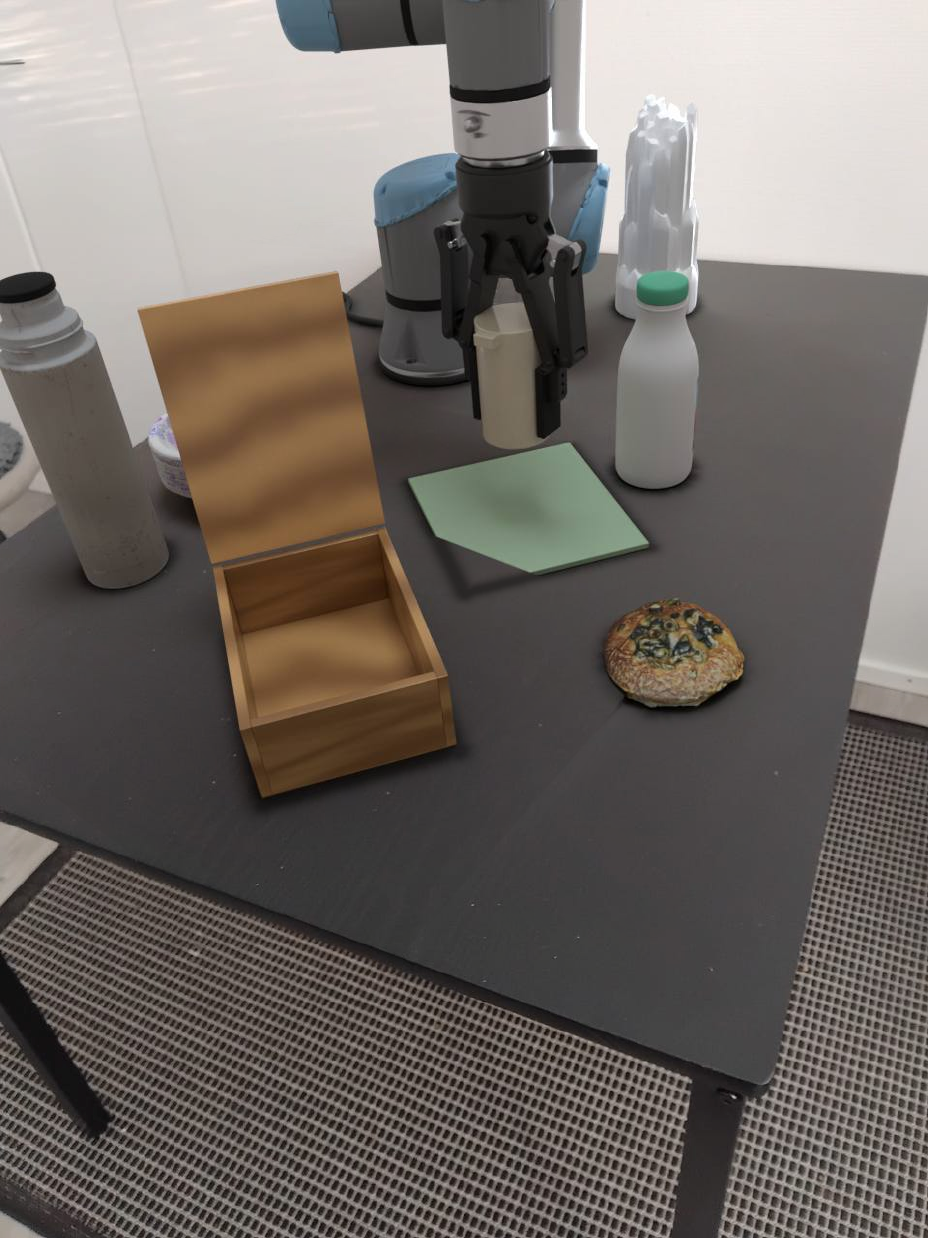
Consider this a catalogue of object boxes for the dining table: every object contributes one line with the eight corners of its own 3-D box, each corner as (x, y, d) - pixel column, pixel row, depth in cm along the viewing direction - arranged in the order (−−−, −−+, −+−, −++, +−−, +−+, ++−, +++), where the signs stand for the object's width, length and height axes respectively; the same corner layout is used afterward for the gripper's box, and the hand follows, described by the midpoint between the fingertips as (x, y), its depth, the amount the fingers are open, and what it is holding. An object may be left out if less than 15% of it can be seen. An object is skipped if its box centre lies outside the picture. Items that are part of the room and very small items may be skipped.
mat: (408, 483, 102) (407, 478, 102) (569, 446, 105) (569, 441, 105) (462, 594, 87) (462, 589, 87) (648, 548, 90) (649, 542, 90)
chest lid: (338, 272, 72) (328, 261, 76) (137, 309, 69) (138, 296, 74) (385, 523, 82) (373, 501, 86) (211, 564, 80) (208, 539, 84)
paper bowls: (179, 456, 110) (159, 392, 105) (313, 442, 110) (300, 377, 105) (156, 533, 99) (133, 465, 94) (306, 517, 99) (291, 448, 94)
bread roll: (632, 602, 84) (641, 559, 80) (756, 652, 80) (771, 609, 77) (575, 687, 77) (582, 644, 74) (708, 746, 74) (722, 704, 70)
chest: (457, 751, 73) (448, 675, 68) (264, 805, 71) (239, 730, 66) (396, 597, 88) (384, 526, 83) (234, 637, 85) (212, 566, 80)
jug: (519, 460, 86) (514, 343, 79) (462, 442, 90) (452, 327, 83) (576, 416, 92) (576, 301, 85) (520, 400, 95) (515, 289, 88)
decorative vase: (702, 318, 127) (718, 107, 111) (619, 323, 128) (624, 114, 112) (688, 286, 136) (702, 85, 120) (610, 291, 136) (614, 92, 120)
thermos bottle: (117, 535, 99) (13, 259, 81) (184, 545, 97) (92, 263, 79) (69, 582, 93) (-55, 297, 75) (139, 594, 91) (29, 303, 73)
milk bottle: (690, 492, 97) (706, 295, 84) (611, 489, 98) (615, 295, 85) (692, 452, 102) (707, 262, 90) (618, 450, 104) (622, 262, 91)
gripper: (376, 153, 78) (409, 414, 92) (585, 181, 68) (585, 468, 83) (435, 129, 82) (458, 382, 97) (639, 152, 72) (630, 430, 87)
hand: (516, 421), depth 90 cm, fingers closed on jug, 6 cm apart
